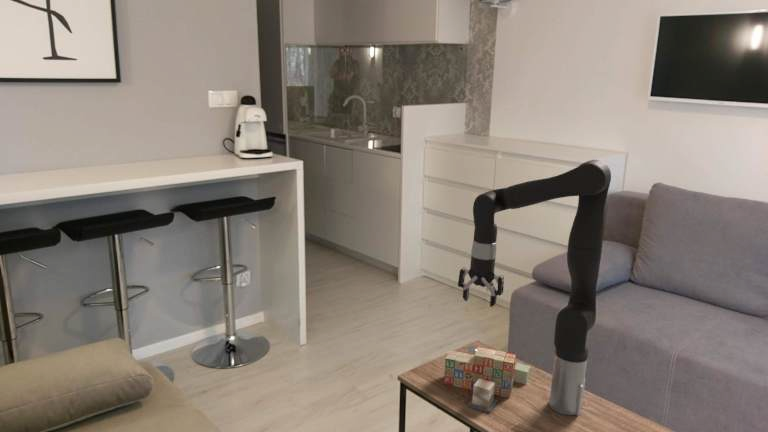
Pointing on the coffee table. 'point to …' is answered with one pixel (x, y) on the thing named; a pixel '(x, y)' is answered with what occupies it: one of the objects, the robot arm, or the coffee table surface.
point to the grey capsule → (472, 350)
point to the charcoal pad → (483, 407)
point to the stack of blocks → (481, 369)
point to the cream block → (483, 393)
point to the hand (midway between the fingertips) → (478, 303)
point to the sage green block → (521, 373)
